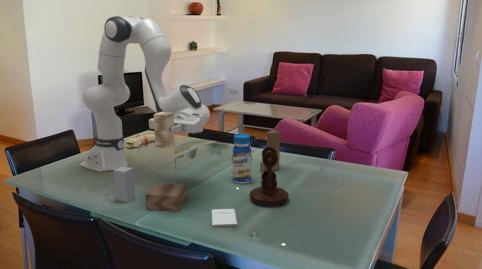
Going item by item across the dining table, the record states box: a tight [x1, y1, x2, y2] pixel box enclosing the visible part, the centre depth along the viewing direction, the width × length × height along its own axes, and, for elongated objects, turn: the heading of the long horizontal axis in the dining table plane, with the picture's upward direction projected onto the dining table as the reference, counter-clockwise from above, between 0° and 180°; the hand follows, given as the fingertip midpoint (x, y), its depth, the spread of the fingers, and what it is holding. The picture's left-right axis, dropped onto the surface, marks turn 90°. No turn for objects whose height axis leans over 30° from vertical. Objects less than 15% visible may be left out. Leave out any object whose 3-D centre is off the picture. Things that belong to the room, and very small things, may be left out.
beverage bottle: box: [231, 133, 253, 185], centre depth 180 cm, size 8×8×20 cm
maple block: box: [153, 112, 176, 149], centre depth 153 cm, size 5×5×12 cm
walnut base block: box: [145, 182, 188, 212], centre depth 158 cm, size 12×12×6 cm
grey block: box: [113, 166, 136, 203], centre depth 161 cm, size 5×5×12 cm
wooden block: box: [259, 129, 281, 173], centre depth 194 cm, size 9×4×18 cm, turn 139°
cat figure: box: [125, 134, 155, 149], centre depth 240 cm, size 10×9×25 cm
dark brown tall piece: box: [248, 146, 289, 206], centre depth 160 cm, size 15×15×20 cm
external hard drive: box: [211, 208, 238, 229], centre depth 146 cm, size 2×8×12 cm
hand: (163, 129), depth 152 cm, fingers closed on maple block, 5 cm apart
